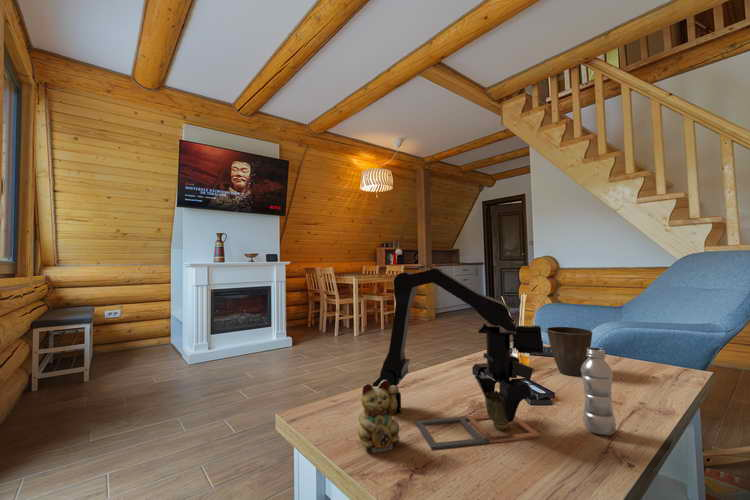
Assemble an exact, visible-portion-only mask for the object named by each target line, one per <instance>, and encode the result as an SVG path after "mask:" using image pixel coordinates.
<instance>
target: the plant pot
mask: <svg viewBox="0 0 750 500" xmlns="http://www.w3.org/2000/svg"><path fill="white" fill-rule="evenodd" d="M546 331H547V337H548V343H549V345H550V350H551V353H552V356H553V359H554V362H555V364H556V367H557V369H558V371H559V373H560V374H562V375H565V376H569V377H570V376H571V377H579V376H581V377H582V373H581V366H582V364H583V363H584V362H585V361H586V360H587V358H588V356H587V348H590V347H591V346H592V340H593V339H592V338H593V331H591V330H589V329H585V328H579V327H570V326H569V327H568V326H551V327H547V328H546Z"/></svg>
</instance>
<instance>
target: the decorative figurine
mask: <svg viewBox="0 0 750 500" xmlns="http://www.w3.org/2000/svg"><path fill="white" fill-rule="evenodd" d="M397 387H398V386H397ZM397 387H396V386H394V385H392V386H389V382H388V381H387V380H383V381H381V382H380V384H379V386H375V387H373V386H372V384H370V383H365V384H364V385H363V387H362V395H361V398H360V399H361V404H362V407H363V410H362V411H361V412H360V414H359V416H358V422H359V426H358V428H357V434H358V437H359V440H360V442H361V445H362V446H363V447H364V448H365V449H369V450H370V451H371V453H373V454H375V453H381V452H386V451H390V450H393V444H395V443H398V442H400V440H401V439H400V436H399V433H400V424H399V422H398V421H397V420H394V419H392V418H393V417H392V416H393V415H394V413H395V412H396V410H397V400H396V396H395V394H397V393H398V392H400V388H399V387H398V388H399V389H398V388H397Z"/></svg>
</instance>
